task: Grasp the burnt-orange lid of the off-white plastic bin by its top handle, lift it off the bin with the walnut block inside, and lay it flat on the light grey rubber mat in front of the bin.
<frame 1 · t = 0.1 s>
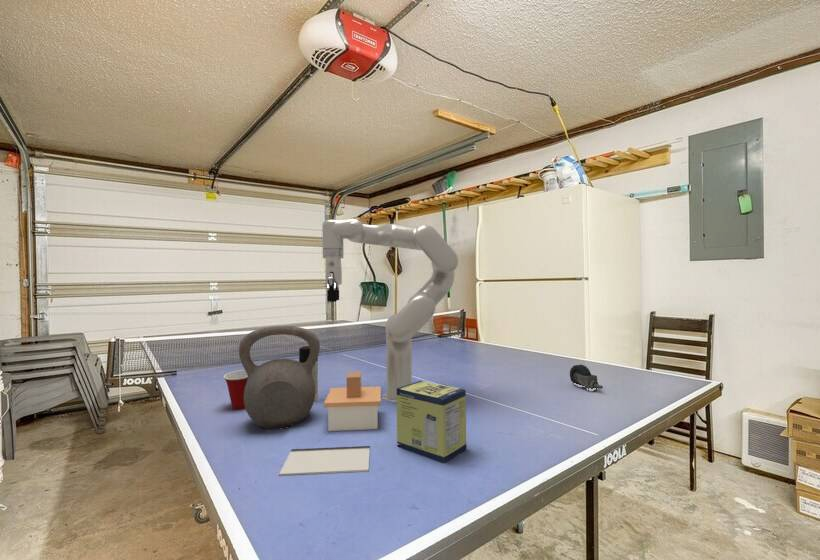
hand: (333, 300, 141), 37 cm above the table, tool pointing down, fingers open, 9 cm apart
walnut block: (359, 419, 120), point 1 cm above the table, touching bin
plastic cup: (240, 407, 136), on the table
mat: (329, 453, 98), on the table
bin: (354, 424, 118), on the table
spray can: (308, 402, 141), on the table
kettlebell: (280, 423, 120), on the table
dark grey rounded piece: (586, 389, 154), on the table
lid: (354, 398, 118), point 8 cm above the table, touching bin
protein box: (431, 448, 101), on the table
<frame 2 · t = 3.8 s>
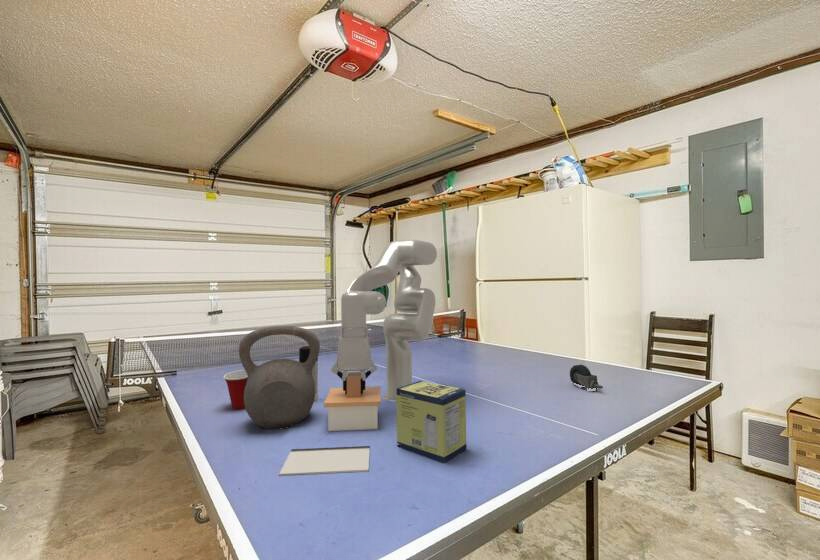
hand: (354, 392, 118), 10 cm above the table, tool pointing down, fingers closed on lid, 4 cm apart
lid: (354, 398, 118), point 8 cm above the table, touching bin, gripper
everything else where it was.
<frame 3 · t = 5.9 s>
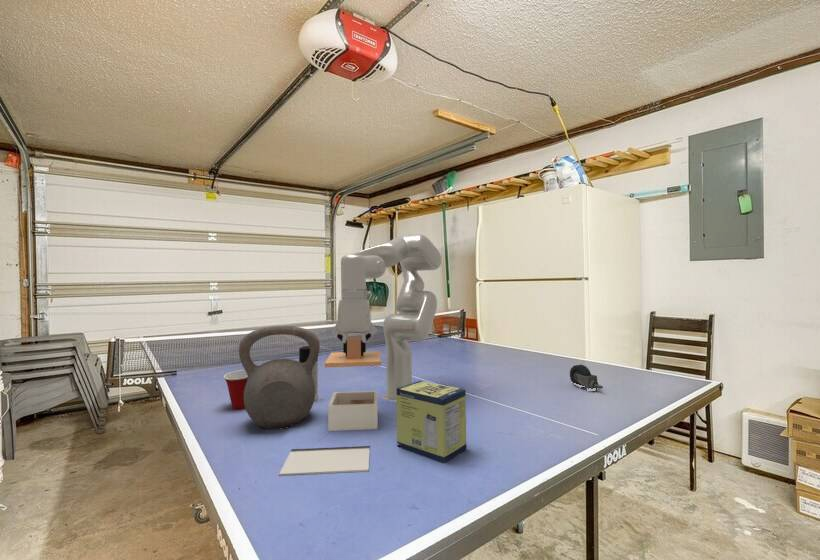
hand: (354, 354, 118), 21 cm above the table, tool pointing down, fingers closed on lid, 4 cm apart
lid: (354, 360, 118), point 19 cm above the table, touching gripper
everything else where it was.
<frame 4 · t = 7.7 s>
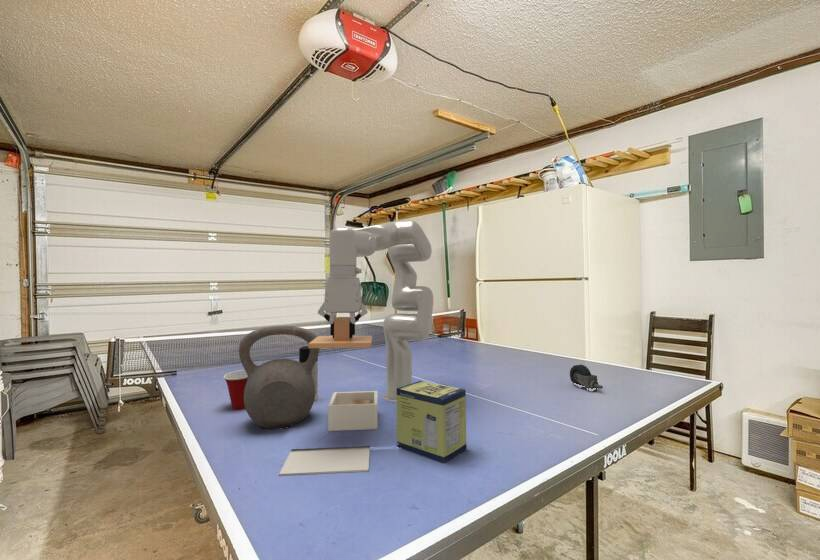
hand: (342, 337, 109), 28 cm above the table, tool pointing down, fingers closed on lid, 4 cm apart
lid: (342, 343, 109), point 26 cm above the table, touching gripper
everything else where it was.
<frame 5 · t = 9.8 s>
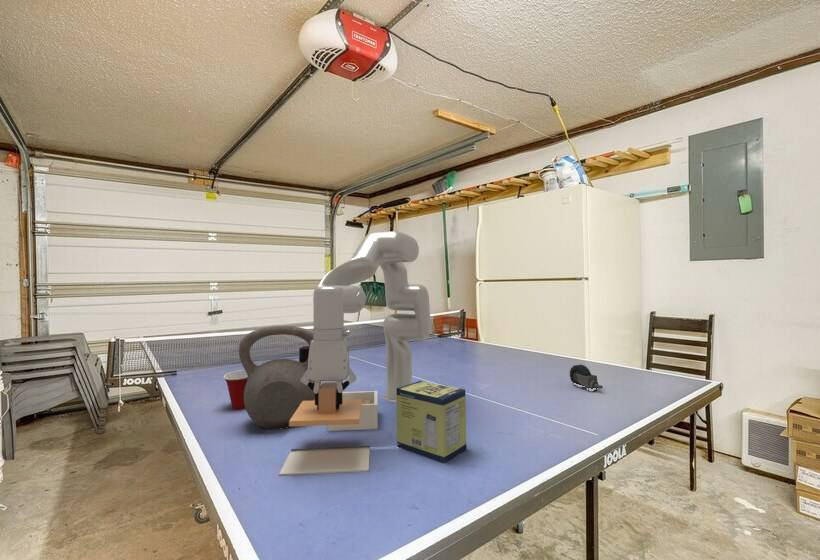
hand: (328, 407, 98), 12 cm above the table, tool pointing down, fingers closed on lid, 4 cm apart
lid: (328, 414, 97), point 10 cm above the table, touching gripper
everything else where it was.
when the fingers open (4 cm above the table, at t = 11.8 s): lid drops 1 cm, resting on mat.
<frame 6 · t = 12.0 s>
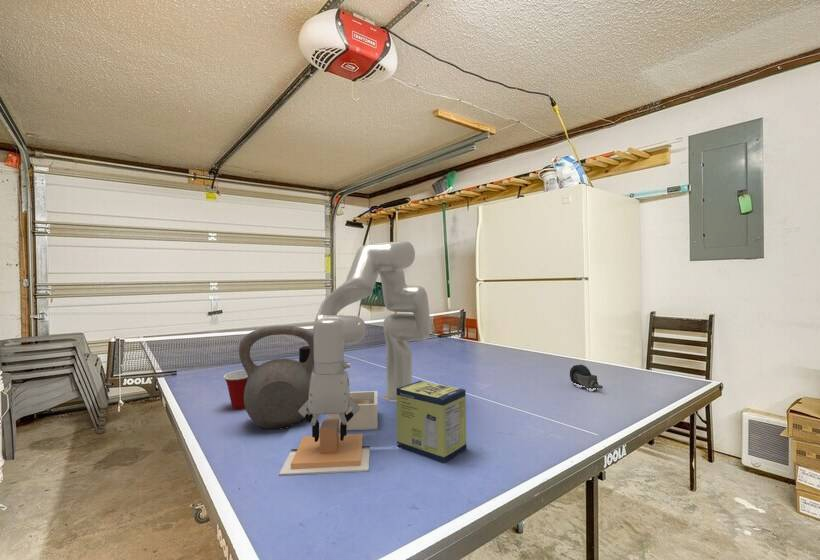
hand: (329, 438, 98), 4 cm above the table, tool pointing down, fingers open, 5 cm apart
lid: (329, 452, 98), resting on mat
everything else where it was.
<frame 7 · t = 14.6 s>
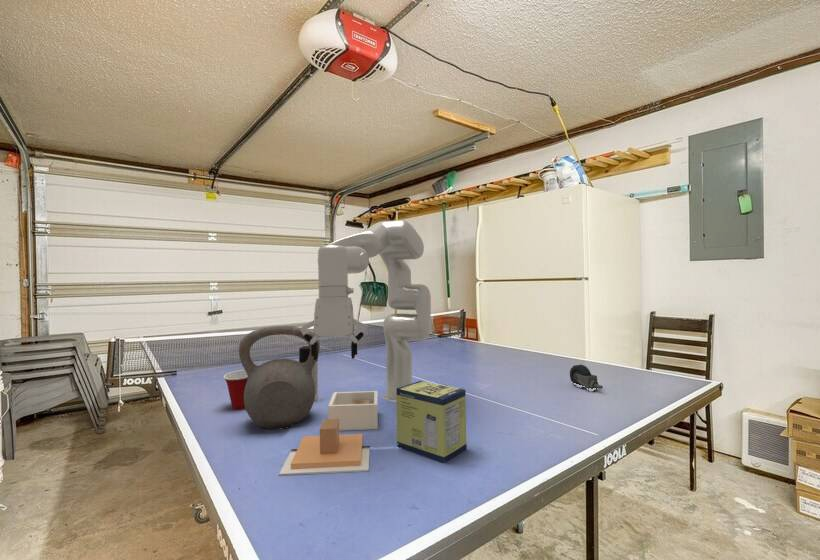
hand: (334, 358, 101), 24 cm above the table, tool pointing down, fingers open, 9 cm apart
nothing on the table moved.
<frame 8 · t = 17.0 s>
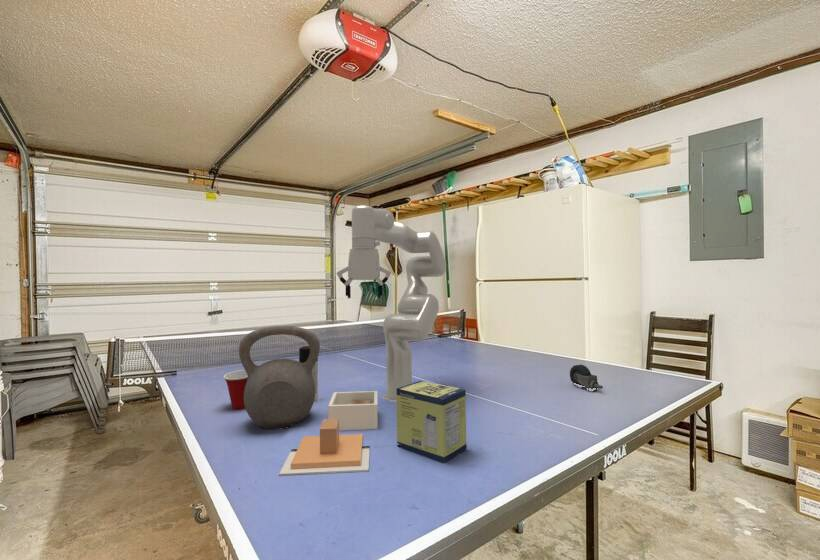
hand: (364, 298, 125), 38 cm above the table, tool pointing down, fingers open, 9 cm apart
nothing on the table moved.
at the end: lid inside the target area (0.1 cm from its centre), resting on mat; lid tilted 0°; the gripper is holding nothing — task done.
